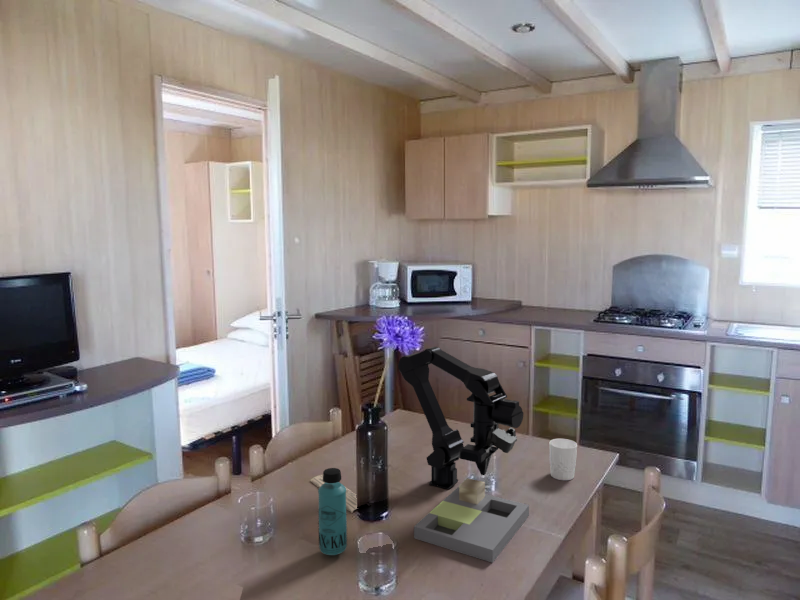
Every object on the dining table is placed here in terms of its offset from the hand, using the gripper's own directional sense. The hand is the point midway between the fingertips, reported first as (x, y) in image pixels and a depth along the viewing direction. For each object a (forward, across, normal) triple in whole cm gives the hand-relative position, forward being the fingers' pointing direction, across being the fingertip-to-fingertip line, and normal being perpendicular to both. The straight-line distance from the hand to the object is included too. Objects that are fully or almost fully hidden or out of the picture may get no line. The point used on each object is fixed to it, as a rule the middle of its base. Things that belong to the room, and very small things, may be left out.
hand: (483, 474), depth 160 cm
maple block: (+4, -8, 0) cm, 8 cm away
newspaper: (+8, -17, +35) cm, 40 cm away
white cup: (+7, +24, -15) cm, 29 cm away
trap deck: (+6, -16, -4) cm, 17 cm away
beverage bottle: (+7, -42, +18) cm, 47 cm away
